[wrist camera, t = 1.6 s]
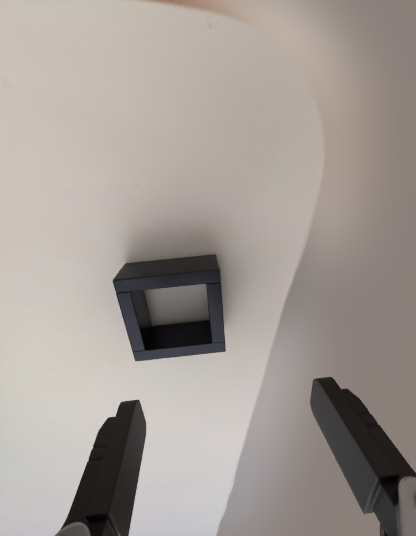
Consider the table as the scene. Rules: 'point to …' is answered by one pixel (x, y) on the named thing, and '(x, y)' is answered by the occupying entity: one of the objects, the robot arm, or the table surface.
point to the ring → (174, 335)
